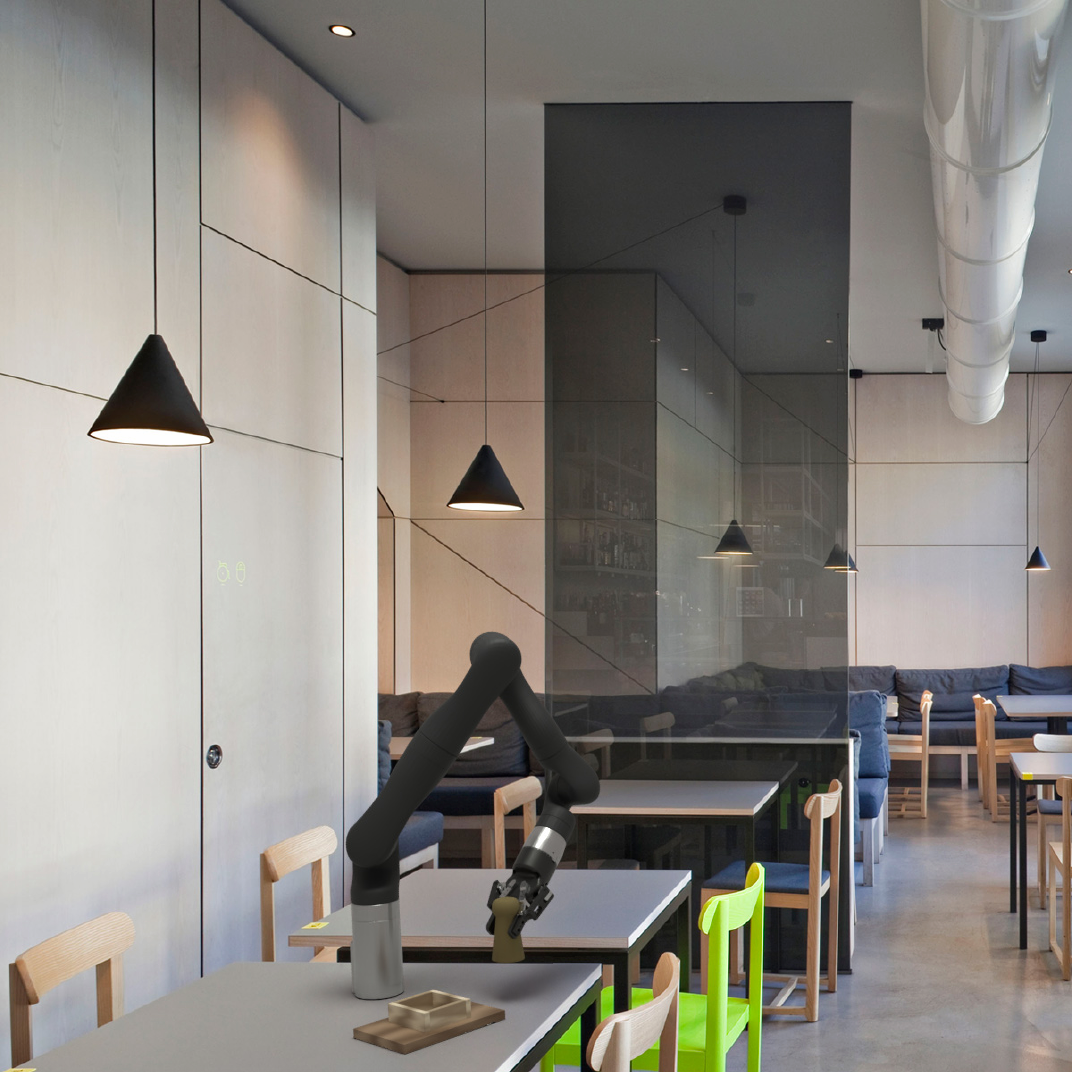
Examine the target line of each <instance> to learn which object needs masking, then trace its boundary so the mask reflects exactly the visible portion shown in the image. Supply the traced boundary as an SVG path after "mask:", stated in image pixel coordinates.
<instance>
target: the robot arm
mask: <svg viewBox="0 0 1072 1072" xmlns="http://www.w3.org/2000/svg"><path fill="white" fill-rule="evenodd" d="M468 654H469V661H470V664H471V665H470V667H469V669H468V670H467V673H466V674H465V676H464V678H462V681H461V682H460V684H459V686H458V687H457V688H456V690H454V692H453V694H452V695H451V696H450V697H449V698H447V699H446V701H444V702H443V703H442V704H441V705H439V706H438V707H437V708H436V709H435V710H434V711H432V713H431V714H430V715H429V716H428V717H427V718H426V719H425V720H424V722H423V723H422V724H421V725H420V726H419V729H417V731H416V732H415V734H414V735H413V737H412V738H411V740H410V741H409V743H408V744H407V746H406V747H405V749H404V751H403V752H402V754H401V755H400V758H399V759H398V760H397V762H396V764H395V766H394V767H393V770H392V772H391V773H390V775H389V777H388V779H387V781H386V783H385V784H384V786H383V789H382V790H381V791H380V792H379V794H378V795H377V797H376V798H375V799H374V801H373V802H372V803H370V805H369V806H368V808H367V809H366V810H365V811H364V812H363V814H362V815H361V816H360V817H359V818H358V819H357V821H355V822H354V823H353V824H352V826H351V827H350V828H349V830H348V831H347V834H346V837H345V850H346V854H347V857H348V858H349V860H350V861H351V865H352V868H351V869H352V870H351V871H352V873H351V874H352V876H351V885H350V892H349V893H350V911H351V931H352V932H351V933H352V935H351V936H352V940H351V941H350V943H349V947H350V965H351V966H350V967H351V969H350V970H351V988H352V990H351V991H352V993H354V995H355V997H357V998H358V999H359V998H360V999H363V1000H379V999H380V1000H381V999H386V998H387V999H389V998H392V997H395V996H398V995H400V994H401V993H403V992H404V990H405V989H404V970H403V969H404V967H403V966H404V965H403V963H404V962H403V947H402V944H403V943H402V942H403V941H402V929H401V928H402V925H401V906H400V905H401V904H400V881H401V867H400V843H399V842H400V840H399V837H400V835H401V833H402V832H403V830H404V828H405V826H406V825H407V823H408V821H409V819H410V818H411V817H412V815H413V814H414V812H415V811H416V810H417V809H418V808H419V806H420V805H421V804H422V803H423V802H424V800H425V799H427V798H428V796H429V795H430V794H431V793H432V792H433V791H434V789H435V788H436V787H437V786H438V785H439V783H440V782H441V781H442V780H443V779H444V778H445V776H446V775H447V773H448V772H449V770H450V769H451V767H452V766H453V764H454V763H455V762H456V760H457V759H458V758H459V756H460V754H461V752H462V751H463V749H464V747H465V746H466V744H467V743H468V741H469V740H470V738H471V737H472V735H473V734H474V733H475V731H476V729H477V728H478V726H479V724H480V722H481V721H482V719H483V717H484V716H485V714H487V712H488V710H489V709H490V708H491V707H492V705H493V704H494V703H495V702H496V700H497V699H498V697H499V698H500V700H501V701H502V703H503V705H504V706H505V708H506V709H507V711H508V712H509V714H510V717H511V718H512V719H513V722H514V723H515V725H516V726H517V728H518V730H519V732H520V734H521V735H522V737H523V738H524V741H525V742H526V744H527V746H528V747H529V749H530V751H531V752H532V754H533V756H534V757H535V758H536V760H537V761H538V763H539V765H540V766H541V767H542V768H543V769H545V770H547V771H550V772H555V773H556V774H555V775H554V776H552V778H551V779H550V781H549V783H548V786H547V788H546V792H545V798H544V801H543V808H542V811H541V813H540V816H539V818H538V819H537V821H536V822H535V825H534V827H533V829H532V831H530V833H529V835H528V836H527V837H526V839H525V841H524V844H523V845H522V847H521V849H520V851H519V854H518V855H517V857H516V859H515V860H514V863H513V865H512V872H511V873H512V874H511V875H510V876H509V877H508V878H507V879H506V881H503V882H500V881H499V880H498V879H495V880H494V881H493V883H492V886H491V890H490V892H489V896H488V900H487V903H486V907H487V908H488V909H489V910H490V911H491V915H490V917H489V918H488V921H487V922H486V923H485V931H486V932H487V933H488V934H489V935H490V936H494V930H495V918H496V917H495V915H494V914H493V911H492V905H493V902H494V900H495V899H497V898H500V897H514V898H516V899H518V902H519V904H520V907H519V910H518V915H515V917H514V919H513V921H512V923H511V925H510V927H509V929H508V932H507V933H508V935H509V936H510V937H511V938H512V939H516V938H517V936H519V935H520V933H521V934H522V931H523V928H525V925H526V923H528V922H529V921H530V920H533V921H534V922H535V921H537V920H538V919H539V917H541V915H542V914H543V912H544V911H545V910H546V908H547V907H548V906H549V904H550V903H551V902H552V900H553V899H554V897H555V895H554V893H553V891H552V890H551V889H549V887H548V885H549V884H550V883H551V880H552V878H553V876H554V873H555V871H556V870H557V868H558V865H559V863H560V862H561V860H562V857H563V856H564V855H563V854H564V851H565V848H566V847H567V845H568V842H569V841H570V838H571V836H572V835H573V833H574V829H575V827H576V824H577V823H576V821H577V819H576V817H575V815H574V814H573V812H571V811H570V809H572V807H573V806H584V805H589V804H592V803H594V802H595V801H596V800H597V799H598V798H599V796H600V792H601V782H600V780H599V776H598V774H597V773H596V771H595V770H594V769H593V767H592V766H591V765H590V764H589V763H588V762H587V761H586V760H585V759H584V758H583V757H582V756H581V754H579V753H578V752H577V751H576V750H575V749H574V748H573V747H572V746H571V745H570V743H569V742H568V740H567V738H566V737H565V735H564V733H563V732H562V730H561V728H560V727H559V724H558V723H557V722H556V720H555V719H554V718H553V716H552V715H551V713H550V712H549V711H548V709H547V708H546V707H545V706H544V704H543V703H542V702H541V700H540V699H539V697H538V696H537V695H536V693H535V692H534V691H533V688H532V687H531V686H530V684H529V682H528V681H527V679H526V677H525V675H524V673H523V671H522V669H521V667H522V666H521V665H522V660H523V659H522V653H521V650H520V648H519V646H518V645H517V644H516V643H515V642H514V641H513V640H512V639H510V638H509V637H508V636H507V635H506V634H504V633H501V632H497V631H485V632H482V633H481V634H479V635H477V636H476V637H475V638H474V640H473V641H472V643H471V645H470V648H469V653H468ZM536 908H537V909H536Z"/></svg>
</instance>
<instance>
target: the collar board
mask: <svg viewBox="0 0 1072 1072" xmlns="http://www.w3.org/2000/svg"><path fill="white" fill-rule="evenodd" d="M387 1010H388V1011H387V1012H388V1017H385V1018H382V1019H379V1020H375V1021H372V1022H370V1023H366V1024H364V1025H360V1026H357V1027H354V1028H353V1029H352V1030H353V1032H352V1034H353V1039H355V1038H356V1039H355V1040H359V1039H360V1040H359V1041H362V1040H363V1041H362V1042H365V1041H366V1042H365V1043H369V1044H372V1045H375V1046H378V1047H381V1048H384V1047H385V1049H387V1048H388V1049H387V1050H390V1051H393V1052H397V1053H400V1054H403V1055H407V1054H410V1053H414V1052H416V1051H418V1050H421V1048H422V1049H424V1047H425V1048H427V1047H430V1046H433V1045H436V1044H439V1043H441V1042H445V1041H446V1040H450V1039H453V1038H456V1037H458V1036H461V1035H464V1034H466V1033H465V1032H467V1033H469V1032H468V1031H470V1032H472V1031H473V1032H474V1031H475V1029H476V1030H478V1029H481V1028H483V1027H482V1026H484V1027H486V1026H485V1025H487V1024H490V1023H492V1022H495V1023H498V1022H500V1021H504V1020H506V1010H505V1009H502V1008H498V1007H495V1006H490V1005H485V1004H481V1003H478V1002H474V1001H471V998H469V997H463V996H461V995H456V994H451V993H450V992H449V993H448V992H445V991H440V990H436V989H431V990H430V989H429V990H427V991H424V992H420V993H417V994H415V995H411V996H409V997H405V998H402V999H399V1000H395V1001H392V1002H389V1003H387ZM503 1019H504V1020H503ZM490 1025H491V1024H490ZM487 1026H488V1025H487ZM480 1027H481V1028H480ZM463 1033H464V1034H463ZM415 1050H416V1051H415Z"/></svg>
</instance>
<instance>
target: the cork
mask: <svg viewBox="0 0 1072 1072" xmlns="http://www.w3.org/2000/svg"><path fill="white" fill-rule="evenodd" d="M519 907H520V904H519V902H518V899H516V898H514V897H500V898H497V899H495V900H494V902H493V905H492V911H493V914H494V915H495V917H496V918H495V930H494V935H493V946H492V947H493V948H492V954H491V955H492V959H491V960H492V961H493V962H494V963H497V964H498V963H499V964H512V963H513V964H514V963H518V962H522V961H523V960H525V958H526V956H525V950H524V945H523V940H522V932H521V933H520V935H519V936H517V938H516V939H512V938H511V937H510V936H509V935H508V933H507V932H508V929H509V927H510V925H511V923H512V921H513V919H514V917H515V915H518V910H519ZM492 911H491V912H492Z"/></svg>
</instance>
